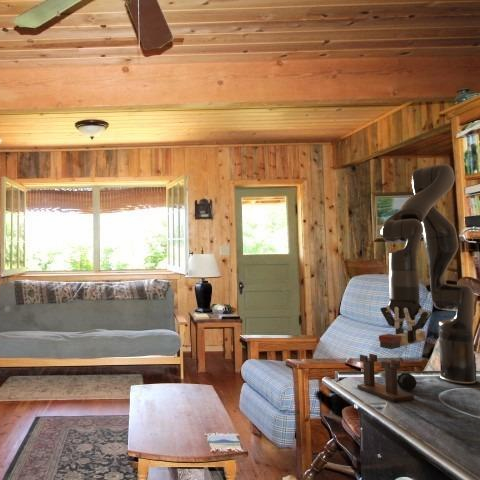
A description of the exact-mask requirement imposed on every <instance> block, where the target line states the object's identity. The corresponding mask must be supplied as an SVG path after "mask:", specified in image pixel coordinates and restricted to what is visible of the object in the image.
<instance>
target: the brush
mask: <svg viewBox="0 0 480 480" xmlns="http://www.w3.org/2000/svg"><path fill="white" fill-rule="evenodd" d="M378 342H379V347H380V348H383V349H388V350H394V349H400V348H402V347H405V346H409V345H413V344H417V343H422V342H426V331H425V330H421V329H418V330H416V341H414V343H408V332H406V331H405V332H404V333H401V334H396V333H395V334H393V333H386V334H379V335H378Z"/></svg>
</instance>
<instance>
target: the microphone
mask: <svg viewBox="0 0 480 480" xmlns="http://www.w3.org/2000/svg"><path fill="white" fill-rule="evenodd" d="M380 374H381V375H382V376H383V377H384V378H385V371H382V372H380ZM417 384H418V382H417V380H416V377H415V376H414V375H412V374H411V373H410V372H400V373H397V388H400V389H401V390H402V391H404V392H406V391H407V392H409V391H410V392H412V390H414V389H415V388H416V387H417Z"/></svg>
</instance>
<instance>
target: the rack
mask: <svg viewBox="0 0 480 480" xmlns="http://www.w3.org/2000/svg"><path fill="white" fill-rule="evenodd" d="M390 360H391V361H387V360H381V361H380V362H381V368H383V369H384V372H385V377H384V378H385V384H382V383H379V382H376V379H375V363H377V362H378V355H377V354H374V353H368V355H365V354H359V362H362V363H363V366H362V367H363V383H362V384H357V386H356V387H357V388H356V389H358V390H360V391H363V392H366V393H367V394H371V395H374V396H377V397H380V398H382V399H385V400H387V401H390V402H393V403H396V402H405V401H409V400H414V399H415V395H414V394H411V393H408V392H406V391H404V390H400V389H398V384H397V374H398V369H401V361H400V360H397V359H390Z"/></svg>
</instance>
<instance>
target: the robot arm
mask: <svg viewBox="0 0 480 480" xmlns="http://www.w3.org/2000/svg"><path fill="white" fill-rule="evenodd" d="M410 176H411V177H410V179H411V180H410V181H411V187H412V191H413V195H412V196H410V197H409V198H408V199H407V200H406V201H405V202H404V203H403V205H402V206H401V208H400V209H399V210H398V211H397V212H395V213H394V214H392V215H391V216H390V217H388V218H387V219H385V221H384V222H383V224H382V225H381V228H380V235H381V238H382V239H383V240H384V241H386V242H388V243H405V245H404V247H403V248H400V249H396V250H392V251H390V252H389V254H388V268H389V272H388V295H389V296H388V297H389V303H388V305H386V306H383V307H380V309H379V310H380V312H381V314H382V315H383V317H384V320H385V321H386V323H387V325H388V326H389V327H393V328H394V329H395V335H396V334H401V333H405V329H404V321H405V323H406V326H407V330H406V331H407V332H408V343H414V341H416V330H422V329H424V327H425V325H426V324H427V322H428V321H429V319H430V317H431V315H432V312H431V311H427V310H425V309H423V308H422V306H421V304H420V301H421V298H420V279H419V278H420V277H419V272H418V254H419V253H418V252H419V249H420V244H421V242H422V241H421V240H422V238H423V243H424V248H425V254H426V259H427V265H428V272H429V285H430V296H431V297H430V298H431V301H432V304H433V306H434V307H435V308H436V309H438V310H443V311H452V312H455V316H454V317H452V318H449V319H442V320H440V321H439V322H438V342H439V344H438V345H439V370H440V371H439V372H440V375H439V379H441V380H442V381H444V382H449V383H453V384H459V385H474V384H476V382H477V362H476V359H477V358H476V353H475V351H474V349H475V348H474V322H475V294H474V290H473V289H472V287H470V286H469V285H466V284H455V283H454V284H453V283H447V281H446V280H447V279H446V273H447V269H448V267H449V266H450V264H451V263H452V261H453V259H454V257H455V256H456V255H457V252H458V250H459V240H458V235H457V230H456V229H457V228H456V227H455V226H454V224H453V223H452V222H451V221H450V220H449V219H448V218H447V217H446V216H445V215H444V214H443V213H442V212H441V211H440V210H438V209H437V207H436V206H435V205H436V204H437V203H438V202H439V201H441V199H442V198H444V196H445V195H446V194H447V193H448V192H449V191H450V190H452V188H453V186H454V184H455V180H456V179H455V178H456V177H455V172H454V169H453V167H452V166H451V165H449V164H446V163H444V164H443V163H442V164H435V165H434V164H433V165H430V166H429V165H428V166H424V167H418V168H415V169H414V170H413V171H412V172H411V175H410ZM417 315H419V318H418V320H417ZM414 344H415V343H414Z"/></svg>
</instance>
